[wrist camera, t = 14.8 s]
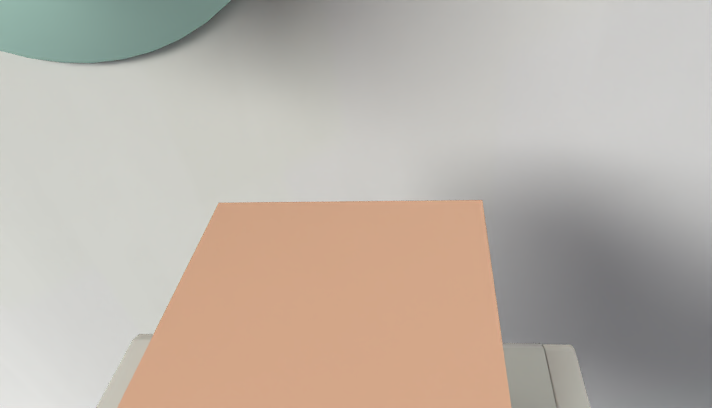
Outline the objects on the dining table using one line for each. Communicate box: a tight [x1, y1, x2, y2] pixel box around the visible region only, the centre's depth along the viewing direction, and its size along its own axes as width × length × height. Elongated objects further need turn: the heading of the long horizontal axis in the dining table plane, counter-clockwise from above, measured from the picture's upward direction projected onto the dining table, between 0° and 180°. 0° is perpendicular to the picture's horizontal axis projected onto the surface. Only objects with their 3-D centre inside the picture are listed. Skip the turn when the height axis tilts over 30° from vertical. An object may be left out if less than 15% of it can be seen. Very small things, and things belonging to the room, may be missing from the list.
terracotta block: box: [117, 200, 511, 408], centre depth 10 cm, size 5×5×5 cm
